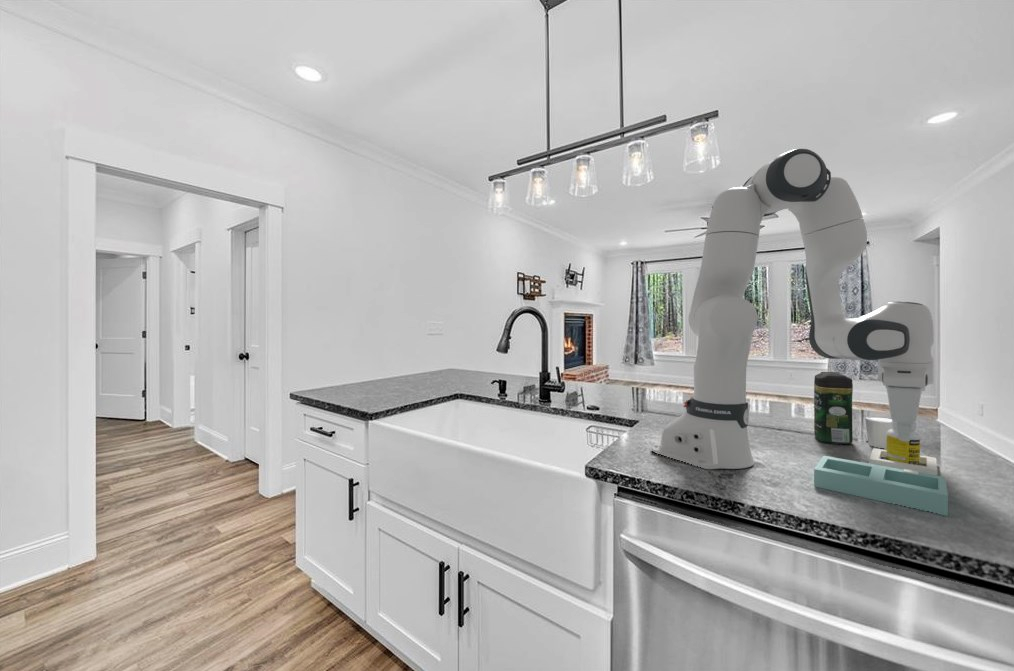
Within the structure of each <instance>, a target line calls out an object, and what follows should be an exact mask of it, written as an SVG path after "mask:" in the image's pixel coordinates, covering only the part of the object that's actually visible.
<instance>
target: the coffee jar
mask: <svg viewBox="0 0 1014 671" xmlns="http://www.w3.org/2000/svg"><path fill="white" fill-rule="evenodd" d="M853 384H854V383H853V379H852V378H851V377H849V376H847V375H845V374H842V373H840V372H838V371H821V372H820V373H817V374H815V375H814V382H813V409H814V410H813V417H814V418H813V419H814V422H813V430H814V432H813V433H814V436H815V438H816V439H817V440H818V441H820V442H823V443H829V444H832V445H838V444H840V446H841V445H851V444H852V443H853V438H854V436H853V391H854V389H853V388H854V385H853Z"/></svg>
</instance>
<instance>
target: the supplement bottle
mask: <svg viewBox="0 0 1014 671" xmlns="http://www.w3.org/2000/svg"><path fill="white" fill-rule="evenodd" d="M891 425H892V427H893V429H890V430H888V431H887V447H886V449H885V450H886V458H885V460H890V461H896V462H902V463H908V464H914V465H921V464H920V455H921V435H920V434H919V433H918V432H916V431H917V423H915V424H911V430H910V441H908V442H906V441H900V440H899V439H898V428H897V422H893V421H892V423H891Z"/></svg>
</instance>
